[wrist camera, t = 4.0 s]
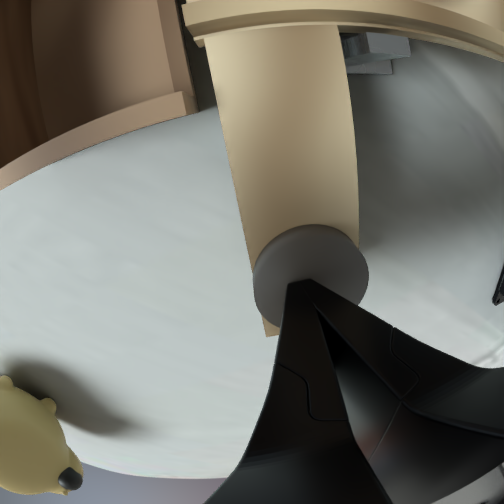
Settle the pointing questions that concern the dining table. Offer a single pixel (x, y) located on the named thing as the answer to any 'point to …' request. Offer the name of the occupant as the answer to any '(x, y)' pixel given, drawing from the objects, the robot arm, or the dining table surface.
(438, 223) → the dining table surface
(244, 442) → the dining table surface
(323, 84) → the lever
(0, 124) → the tray
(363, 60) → the fulcrum
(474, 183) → the dining table surface
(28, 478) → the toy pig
